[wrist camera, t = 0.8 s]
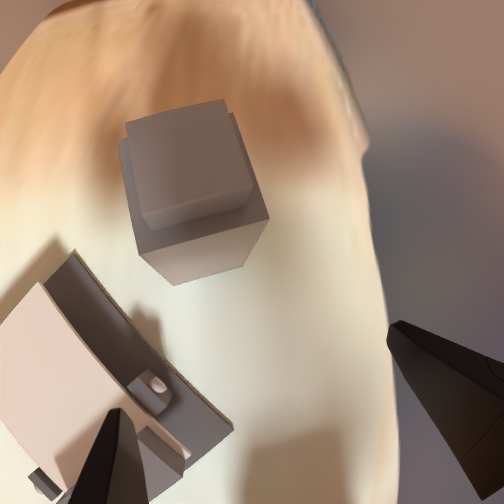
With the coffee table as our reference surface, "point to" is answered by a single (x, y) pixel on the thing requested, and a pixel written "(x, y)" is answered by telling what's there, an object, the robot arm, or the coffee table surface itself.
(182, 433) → the stand
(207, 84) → the coffee table surface
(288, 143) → the coffee table surface
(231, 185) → the stone pillar
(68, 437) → the trapdoor flap
